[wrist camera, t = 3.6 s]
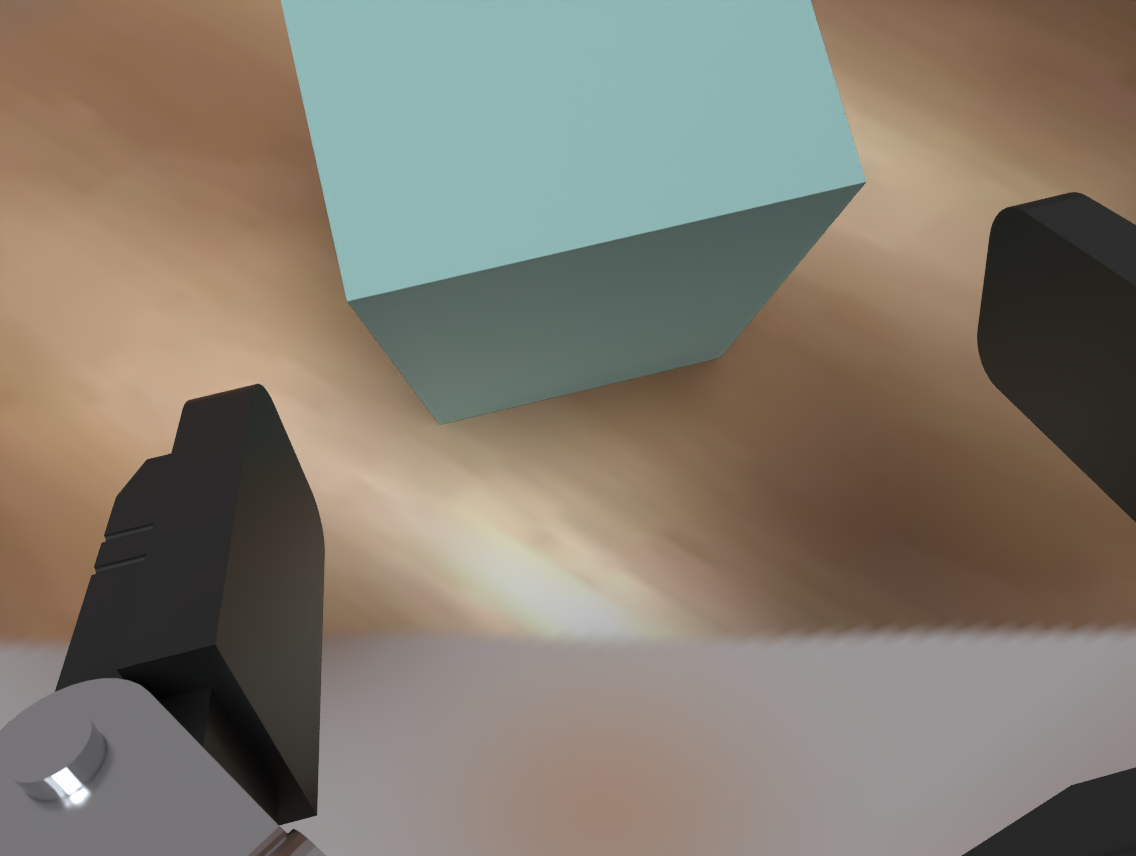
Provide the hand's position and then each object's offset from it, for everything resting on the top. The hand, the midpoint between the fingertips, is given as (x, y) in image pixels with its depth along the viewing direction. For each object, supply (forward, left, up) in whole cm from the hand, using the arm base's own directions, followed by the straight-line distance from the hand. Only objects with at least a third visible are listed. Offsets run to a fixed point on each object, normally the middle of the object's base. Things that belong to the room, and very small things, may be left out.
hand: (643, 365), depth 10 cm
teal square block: (0, -4, -9) cm, 10 cm away
